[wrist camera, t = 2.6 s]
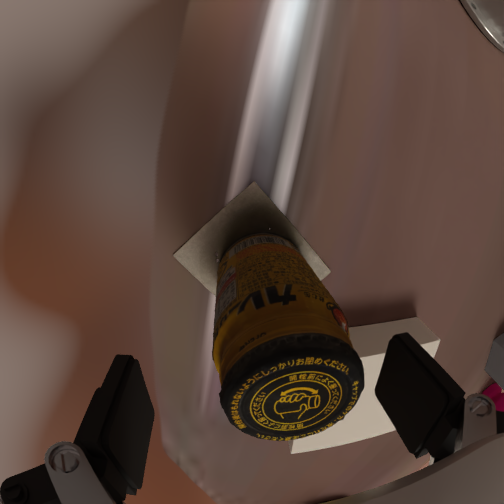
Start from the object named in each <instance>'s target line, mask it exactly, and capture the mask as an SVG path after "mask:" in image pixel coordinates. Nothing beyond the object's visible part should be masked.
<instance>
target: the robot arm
mask: <svg viewBox="0 0 504 504" xmlns="http://www.w3.org/2000/svg"><path fill="white" fill-rule="evenodd" d="M460 1H461V3H462V4H463V6H464V8H465V9H466V11H467V12H468V14H469V15H470V17H471V18H472V19H473V21H474V22H475V24H476V25H477V26H478V27H479V29H480V30H481V31H482V32H483V34H484V35H485V36H486V37H487V38H488V39H489V40H490V41H491V42H492V43H493V44H494V45H495V46H496V47H497V48H498V49H499V50H501V51H502V52H503V53H504V0H460ZM464 395H465V392H464V391H463V390H462V389H461V387H460V386H459V385H458V384H457V383H456V382H455V381H454V380H453V379H452V378H451V377H450V375H449V374H448V373H447V372H446V371H445V370H444V369H443V368H442V367H441V366H440V365H439V364H438V363H437V362H436V361H435V360H434V359H433V357H432V356H431V355H430V354H429V353H428V352H427V351H426V350H425V349H424V348H423V347H422V346H421V345H420V344H419V343H418V342H417V341H416V340H415V339H414V338H413V337H412V336H411V335H410V334H409V333H408V332H405V333H400V334H395V335H393V337H392V339H390V340H389V343H388V346H387V350H386V353H385V357H384V360H383V364H382V367H381V370H380V374H379V377H378V380H377V383H376V386H375V396H376V397H377V399H378V401H379V402H380V404H381V406H382V407H383V409H384V411H385V412H386V414H387V415H388V417H389V419H390V420H391V422H392V424H393V425H394V427H395V429H396V430H397V432H398V434H399V435H400V437H401V439H402V440H403V442H404V444H405V446H406V447H407V449H408V451H409V452H410V453H412V454H414V455H415V457H416V459H417V458H419V457H421V456H423V455H426V454H427V453H428V452H429V453H430V455H431V457H430V461H429V466H427V467H425V468H423V469H421V470H419V471H417V472H414V473H412V474H410V475H408V476H405V477H403V478H400V479H398V480H395V481H393V482H390V483H388V484H385V485H382V486H379V487H377V488H374V489H371V490H368V491H365V492H361V493H358V494H355V495H351V496H348V497H344V498H341V499H337V500H333V501H329V502H325V503H320V504H504V412H502V411H497V410H496V408H495V404H494V402H493V401H492V399H490V398H489V397H488V396H486V395H484V394H480V393H475V394H471V395H470V396H468V397H467V399H466V400H465V399H464ZM153 421H154V408H153V405H152V403H151V400H150V397H149V394H148V391H147V387H146V385H145V381H144V378H143V375H142V371H141V368H140V364H139V361H138V360H137V359H134V358H133V356H131V355H116V356H115V358H114V360H113V363H112V364H111V367H110V369H109V371H108V373H107V375H106V378H105V379H104V382H103V384H102V386H101V388H98V389H96V391H95V393H94V395H93V397H92V400H91V402H90V404H89V407H88V409H87V411H86V414H85V416H84V418H83V421H82V423H81V425H80V428H79V430H78V432H77V435H76V438H75V440H74V442H73V443H71V442H58V443H56V444H54V445H52V446H51V447H50V448H49V449H48V450H47V452H46V454H45V459H44V460H45V464H42V465H40V466H38V467H35V468H33V469H30V470H28V471H25V472H23V473H20V474H17V475H14V476H12V477H9V478H7V479H6V480H5V481H4V482H3V483H2V485H1V488H0V495H1V496H0V504H125V502H124V500H125V498H126V494H130V495H136V492H137V489H141V487H142V483H143V477H144V470H145V464H146V459H147V453H148V447H149V442H150V436H151V431H152V426H153Z"/></svg>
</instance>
